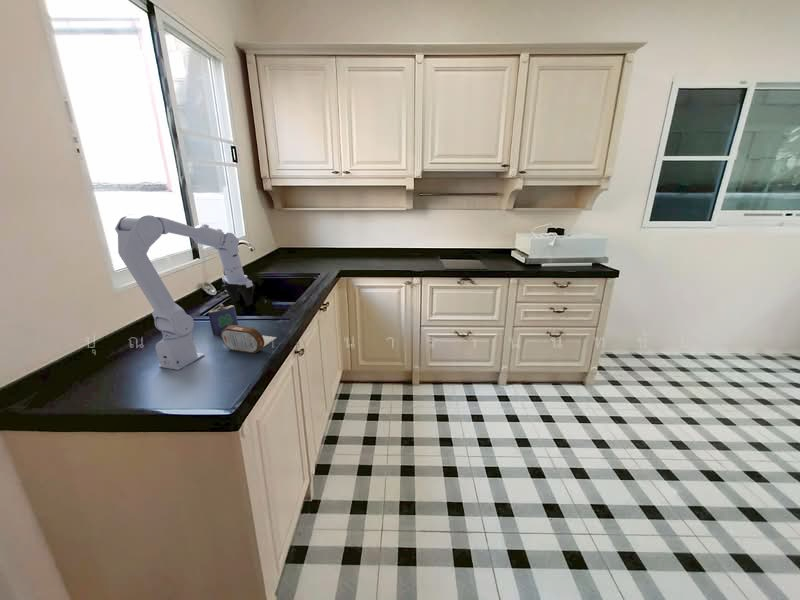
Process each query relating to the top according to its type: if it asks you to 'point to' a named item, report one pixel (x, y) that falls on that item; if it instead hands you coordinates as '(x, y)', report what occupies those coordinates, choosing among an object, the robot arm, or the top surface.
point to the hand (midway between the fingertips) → (243, 302)
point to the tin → (242, 339)
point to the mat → (268, 339)
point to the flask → (222, 318)
